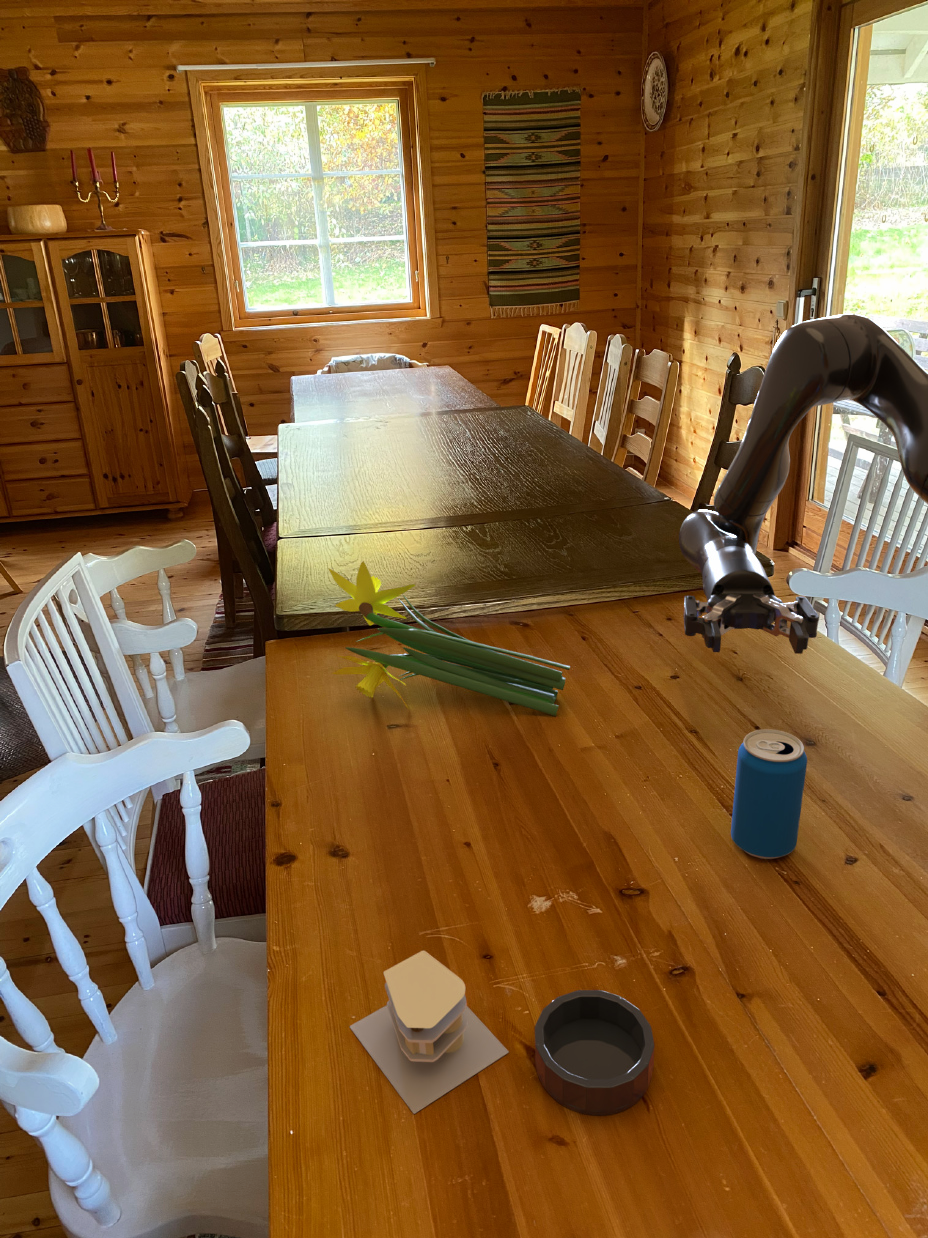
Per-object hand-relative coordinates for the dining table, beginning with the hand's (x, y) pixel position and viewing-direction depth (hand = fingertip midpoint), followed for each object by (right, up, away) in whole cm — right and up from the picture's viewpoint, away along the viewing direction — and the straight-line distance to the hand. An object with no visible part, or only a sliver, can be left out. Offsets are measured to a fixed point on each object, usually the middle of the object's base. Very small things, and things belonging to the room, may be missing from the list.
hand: (758, 645), depth 97 cm
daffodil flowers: (-33, -8, +29) cm, 45 cm away
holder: (-21, -32, -26) cm, 46 cm away
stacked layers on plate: (-34, -31, -23) cm, 52 cm away
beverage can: (0, -20, -3) cm, 21 cm away
